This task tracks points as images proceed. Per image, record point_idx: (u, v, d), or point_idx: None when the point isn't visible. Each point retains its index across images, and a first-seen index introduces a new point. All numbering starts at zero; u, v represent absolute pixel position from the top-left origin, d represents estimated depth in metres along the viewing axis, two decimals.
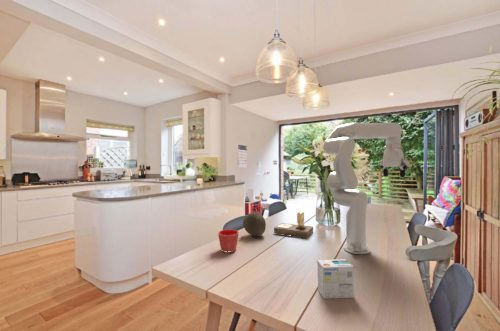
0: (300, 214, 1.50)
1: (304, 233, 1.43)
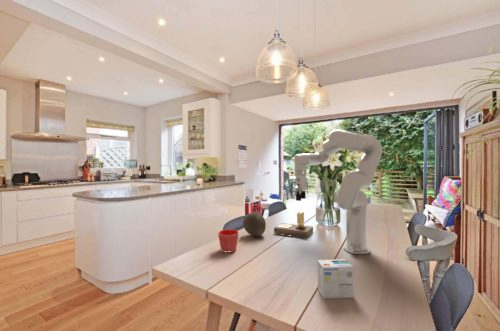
0: (300, 214, 1.50)
1: (304, 233, 1.43)
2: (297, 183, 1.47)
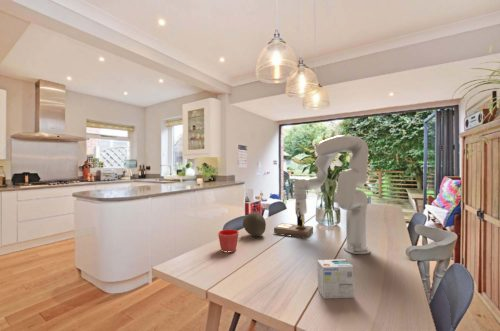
0: (300, 214, 1.50)
1: (304, 233, 1.43)
2: (297, 207, 1.47)
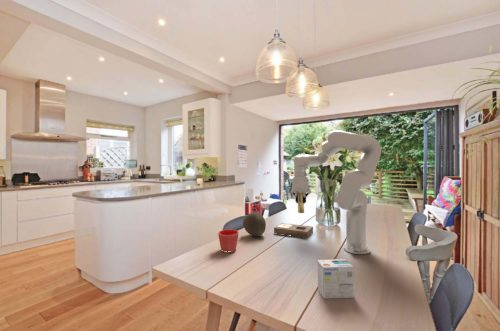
0: None
1: (304, 233, 1.43)
2: (307, 184, 1.49)
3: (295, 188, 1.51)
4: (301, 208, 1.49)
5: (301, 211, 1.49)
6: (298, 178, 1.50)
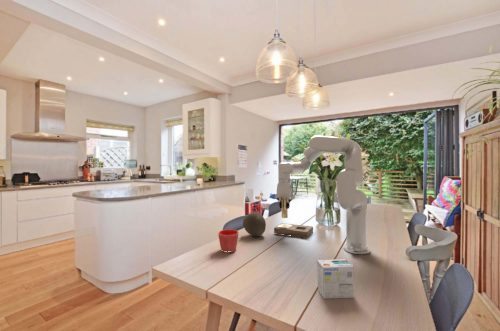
0: None
1: (304, 233, 1.43)
2: (291, 190, 1.54)
3: (279, 194, 1.56)
4: (284, 213, 1.55)
5: (284, 216, 1.55)
6: (281, 185, 1.55)
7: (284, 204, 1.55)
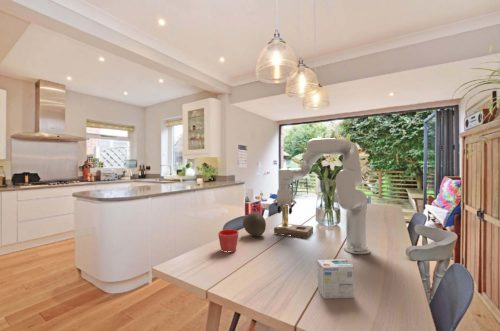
0: (287, 206, 1.56)
1: (304, 233, 1.43)
2: (291, 196, 1.54)
3: (279, 200, 1.56)
4: (285, 222, 1.55)
5: (285, 224, 1.55)
6: (282, 191, 1.55)
7: (285, 213, 1.55)
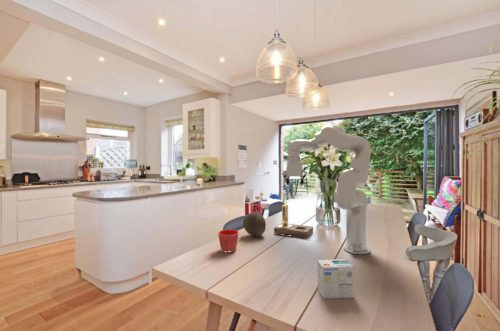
0: (287, 206, 1.56)
1: (304, 233, 1.43)
2: (301, 168, 1.55)
3: (289, 172, 1.57)
4: (285, 222, 1.55)
5: (285, 224, 1.55)
6: (291, 163, 1.56)
7: (285, 212, 1.55)
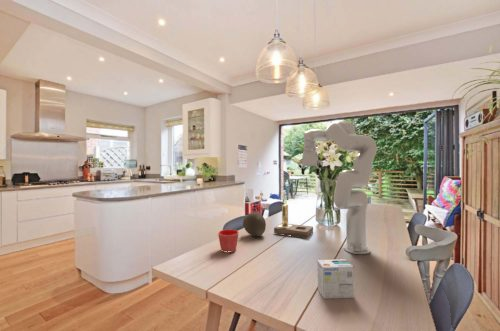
0: (287, 206, 1.56)
1: (304, 233, 1.43)
2: (317, 158, 1.56)
3: (305, 162, 1.58)
4: (285, 222, 1.55)
5: (285, 224, 1.55)
6: (307, 153, 1.57)
7: (285, 212, 1.55)
